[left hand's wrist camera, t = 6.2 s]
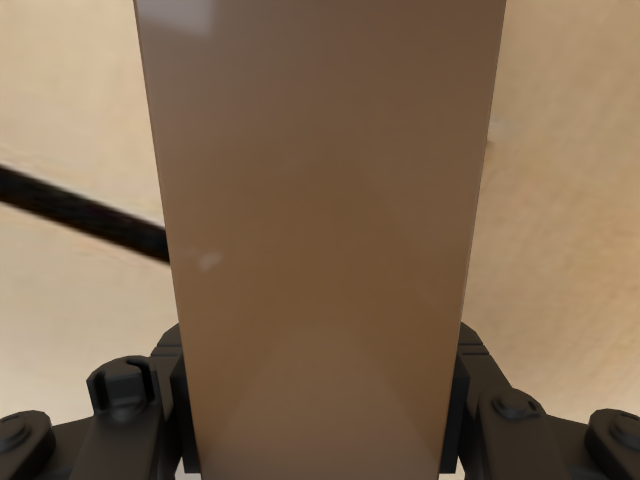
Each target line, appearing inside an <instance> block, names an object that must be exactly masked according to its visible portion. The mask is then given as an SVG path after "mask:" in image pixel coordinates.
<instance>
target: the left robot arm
mask: <svg viewBox="0 0 640 480" xmlns="http://www.w3.org/2000/svg"><path fill="white" fill-rule="evenodd" d="M86 382H87V386H88V390H89V394H90V398H91V402H92V406H93V410H94V415H93V416H91V417H88V418H85V419H81V420H77V421H73V422H68V423H64V424H60V425H56V426H52V424H51V421H50V417H49V416H48V415H46V414H45V413H44V412H41V411H35V410H31V411H23V412H18V413H15V414H12V415H9V416H6V417H3V418H2V419H0V480H176V478H175V473H176V470H177V468H178V465H179V462H180V460H181V457H182V461H183V467H184V473H185V474H200V468H199V461H198V454H197V447H196V440H195V432H194V425H193V418H192V411H191V404H190V397H189V390H188V383H187V376H186V369H185V362H184V355H183V348H182V341H181V334H180V327H179V323H177V324H176V325H175V326H173V327H172V328H171V329H169V330H168V331H167V332H165V333H164V334H163V336H162V338H161V339H160V341H159V342H158V344H157V347H155V348H154V350H153V351H152V353H151V356H150V357H144V356H141V355H139V356H126V357H121V358H117V359H114V360H112V361H110V362H107V363H105V364H103V365H102V366H100V367H99V368H97V369H96V370H95V371H93V372H92V373H91V375H90V376H89V377H88V379H87V380H86ZM458 456H459V459H460V461H461V464H462V466H463V469H464V472H465V478H464V480H640V417H638V416H636V415H633V414H631V413H627V412H624V411H622V410H615V409H601V410H596V411H595V412H594V413H593V414H592V415H591V416H590V419H589V423H588V425H587V424H583V423H579V422H574V421H570V420H566V419H561V418H557V417H554V416H551V415H547V414H546V412H545V411H544V409H543V408H542V406H541V404H540V403H539V402H537V401H536V400H535V399H534V398H533V397H531V396H530V395H528V394H526V393H524V392H522V391H520V390H518V389H515V388H512V387H511V385H510V383H509V382H508V380H507V379H506V377H505V376H504V374H503V373H502V371H501V370H500V368H499V367H498V365H497V364H496V362H495V361H494V359H493V358H492V356H491V355H489V352H488V350H487V349H486V347H485V346H483V342H482V341H481V339H480V338H479V336H478V335H477V333H476V332H475V331H474V330H472V329H471V328H470V327H468V326H467V325H466V324H464V323H463V322H461V323H460V330H459V338H458V345H457V352H456V359H455V366H454V373H453V380H452V387H451V394H450V401H449V408H448V415H447V422H446V429H445V436H444V443H443V451H442V458H441V465H440V472H439V474H455V472H456V465H457V459H458Z"/></svg>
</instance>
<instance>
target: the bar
mask: <svg viewBox="0 0 640 480" xmlns="http://www.w3.org/2000/svg"><path fill="white" fill-rule="evenodd" d="M133 3H134V10H135V17H136V24H137V31H138V38H139V45H140V52H141V59H142V66H143V73H144V80H145V87H146V94H147V101H148V108H149V116H150V123H151V130H152V137H153V144H154V151H155V158H156V165H157V172H158V179H159V186H160V193H161V200H162V207H163V214H164V221H165V228H166V235H167V242H168V249H169V256H170V263H171V270H172V278H173V285H174V292H175V299H176V306H177V313H178V320H179V327H180V334H181V341H182V348H183V355H184V362H185V369H186V376H187V383H188V390H189V397H190V404H191V411H192V418H193V425H194V432H195V440H196V447H197V454H198V461H199V468H200V475H201V480H438V479H439V472H440V465H441V458H442V451H443V443H444V436H445V429H446V422H447V415H448V408H449V401H450V394H451V387H452V380H453V373H454V366H455V359H456V352H457V345H458V338H459V330H460V323H461V316H462V309H463V302H464V295H465V288H466V281H467V274H468V267H469V260H470V253H471V246H472V239H473V232H474V225H475V217H476V210H477V203H478V196H479V189H480V182H481V175H482V168H483V161H484V154H485V147H486V140H487V133H488V126H489V119H490V112H491V104H492V97H493V90H494V83H495V76H496V69H497V62H498V55H499V48H500V41H501V34H502V27H503V20H504V13H505V6H506V0H133Z"/></svg>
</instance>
